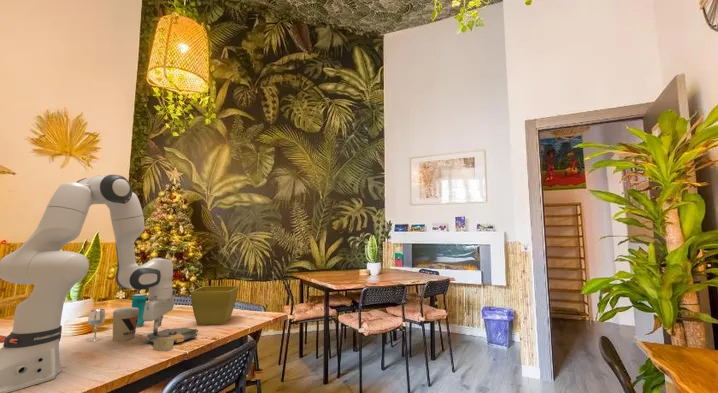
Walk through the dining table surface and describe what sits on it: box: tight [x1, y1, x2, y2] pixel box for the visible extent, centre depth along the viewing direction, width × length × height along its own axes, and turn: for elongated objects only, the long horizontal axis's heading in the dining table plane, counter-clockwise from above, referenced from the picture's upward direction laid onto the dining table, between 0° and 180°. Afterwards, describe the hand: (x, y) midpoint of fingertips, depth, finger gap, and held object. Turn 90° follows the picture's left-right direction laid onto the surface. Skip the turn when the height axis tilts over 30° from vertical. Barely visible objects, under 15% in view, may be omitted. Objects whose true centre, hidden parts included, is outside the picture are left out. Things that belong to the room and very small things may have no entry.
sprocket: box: [144, 321, 199, 344], centre depth 141 cm, size 20×20×6 cm
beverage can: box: [131, 293, 147, 328], centre depth 161 cm, size 6×6×15 cm
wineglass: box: [87, 308, 106, 342], centre depth 140 cm, size 6×6×12 cm
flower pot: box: [190, 285, 240, 326], centre depth 170 cm, size 19×19×17 cm
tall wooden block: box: [152, 337, 175, 352], centre depth 129 cm, size 4×6×4 cm, turn 76°
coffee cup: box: [112, 306, 139, 342], centre depth 142 cm, size 9×9×12 cm
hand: (158, 326), depth 144 cm, fingers closed
